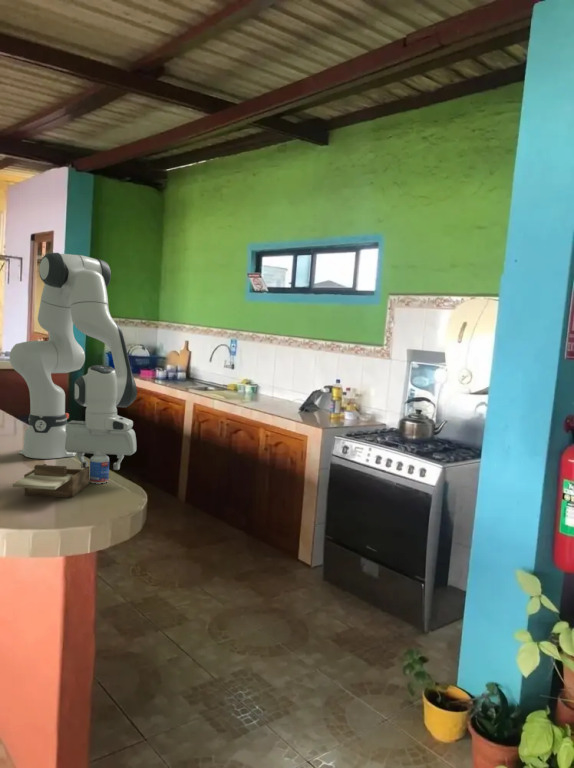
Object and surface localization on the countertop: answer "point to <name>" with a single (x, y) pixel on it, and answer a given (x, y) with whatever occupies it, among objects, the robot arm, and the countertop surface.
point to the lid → (44, 477)
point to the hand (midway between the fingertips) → (100, 468)
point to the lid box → (64, 485)
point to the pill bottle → (99, 468)
